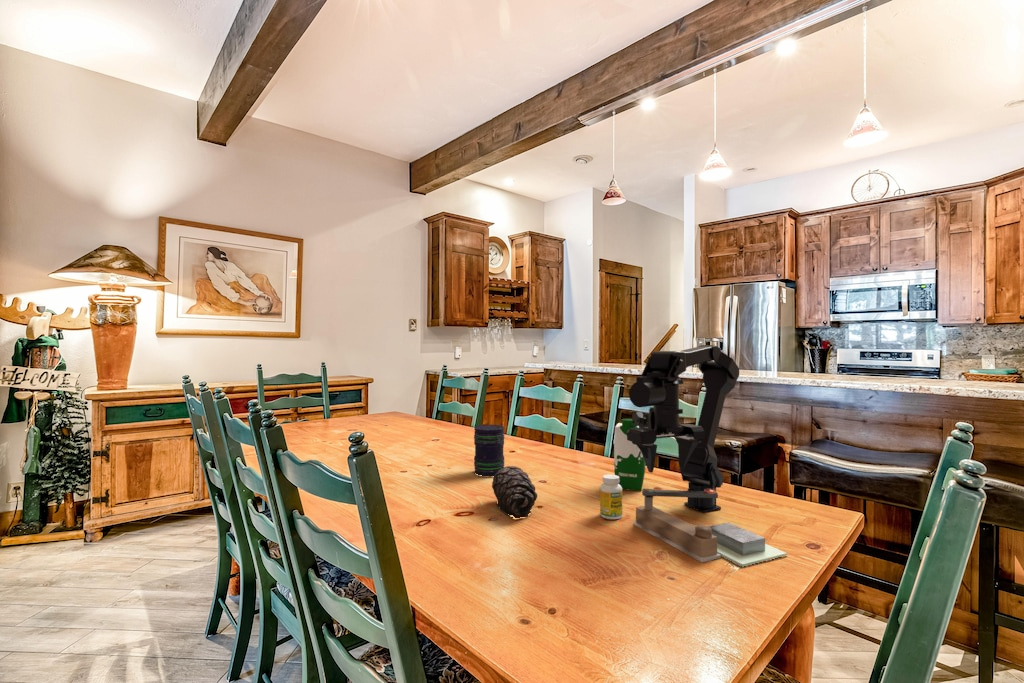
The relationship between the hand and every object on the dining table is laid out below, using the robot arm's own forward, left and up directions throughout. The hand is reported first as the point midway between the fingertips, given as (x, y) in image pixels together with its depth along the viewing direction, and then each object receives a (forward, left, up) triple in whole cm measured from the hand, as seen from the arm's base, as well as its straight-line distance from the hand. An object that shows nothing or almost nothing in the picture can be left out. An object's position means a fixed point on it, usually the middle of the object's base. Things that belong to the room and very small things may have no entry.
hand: (666, 470), depth 112 cm
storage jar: (+24, -56, -12) cm, 62 cm away
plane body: (+6, +9, -12) cm, 16 cm away
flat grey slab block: (-3, +17, -11) cm, 21 cm away
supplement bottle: (+10, -8, -12) cm, 18 cm away
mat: (-3, +17, -12) cm, 21 cm away
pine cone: (+29, -22, -12) cm, 38 cm away
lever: (0, +4, -5) cm, 6 cm away
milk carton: (-9, -26, -12) cm, 30 cm away
